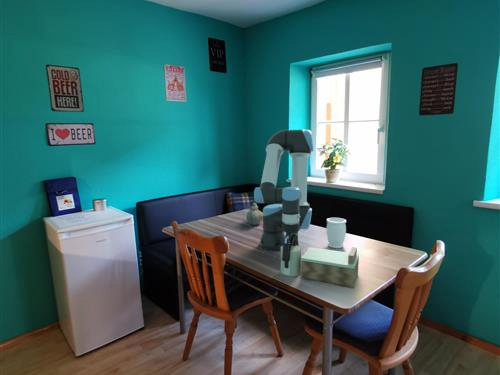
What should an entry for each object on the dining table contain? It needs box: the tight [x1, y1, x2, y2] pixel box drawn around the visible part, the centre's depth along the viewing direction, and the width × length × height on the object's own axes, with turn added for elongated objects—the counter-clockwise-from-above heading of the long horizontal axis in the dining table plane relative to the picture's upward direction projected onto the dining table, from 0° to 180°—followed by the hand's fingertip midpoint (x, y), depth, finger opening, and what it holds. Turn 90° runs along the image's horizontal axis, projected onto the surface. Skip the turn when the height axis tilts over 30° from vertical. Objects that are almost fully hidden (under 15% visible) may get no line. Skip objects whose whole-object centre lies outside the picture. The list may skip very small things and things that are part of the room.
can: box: [280, 245, 302, 277], centre depth 142 cm, size 9×9×12 cm
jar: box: [326, 217, 347, 249], centre depth 174 cm, size 11×10×15 cm
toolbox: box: [300, 256, 360, 289], centre depth 138 cm, size 22×14×8 cm, turn 64°
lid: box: [301, 246, 360, 269], centre depth 137 cm, size 22×14×5 cm, turn 64°
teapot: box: [246, 202, 263, 226], centre depth 219 cm, size 21×12×15 cm, turn 179°
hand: (290, 269), depth 143 cm, fingers closed on can, 9 cm apart
